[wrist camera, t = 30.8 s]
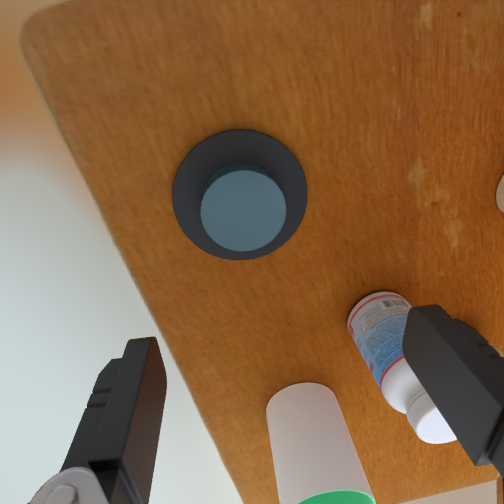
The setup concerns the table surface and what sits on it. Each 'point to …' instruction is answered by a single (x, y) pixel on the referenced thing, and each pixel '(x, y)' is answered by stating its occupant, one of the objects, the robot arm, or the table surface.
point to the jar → (500, 194)
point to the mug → (314, 449)
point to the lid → (242, 207)
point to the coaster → (232, 151)
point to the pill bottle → (395, 363)
